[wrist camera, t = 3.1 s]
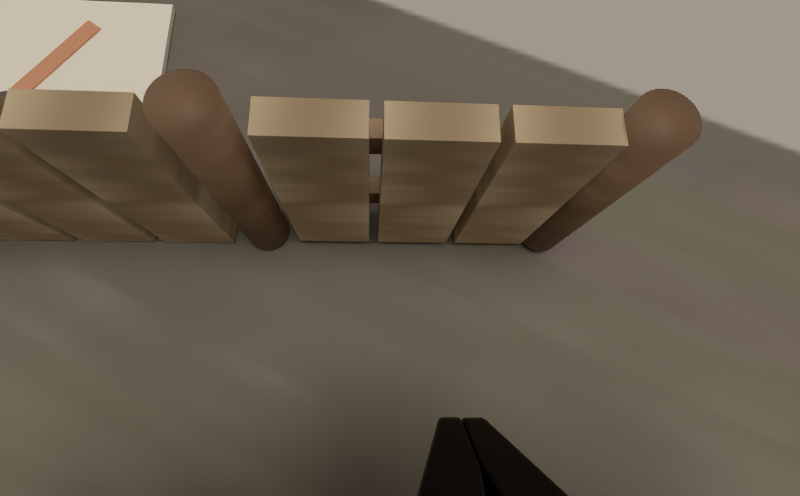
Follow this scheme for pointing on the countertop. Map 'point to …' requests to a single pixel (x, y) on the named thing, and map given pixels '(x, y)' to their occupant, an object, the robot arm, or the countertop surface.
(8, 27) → the card
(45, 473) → the countertop surface
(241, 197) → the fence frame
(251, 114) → the fence panel
